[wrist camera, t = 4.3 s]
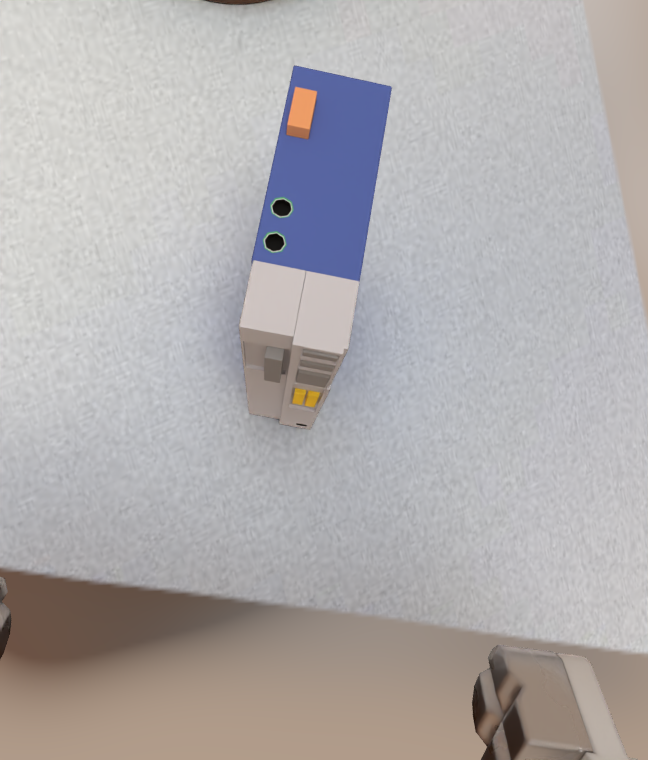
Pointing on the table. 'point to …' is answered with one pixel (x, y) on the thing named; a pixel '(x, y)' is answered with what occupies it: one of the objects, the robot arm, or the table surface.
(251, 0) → the brown round disc
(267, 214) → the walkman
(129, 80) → the table surface
